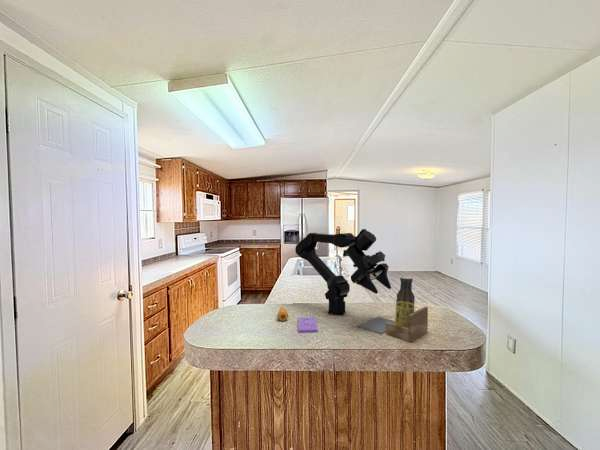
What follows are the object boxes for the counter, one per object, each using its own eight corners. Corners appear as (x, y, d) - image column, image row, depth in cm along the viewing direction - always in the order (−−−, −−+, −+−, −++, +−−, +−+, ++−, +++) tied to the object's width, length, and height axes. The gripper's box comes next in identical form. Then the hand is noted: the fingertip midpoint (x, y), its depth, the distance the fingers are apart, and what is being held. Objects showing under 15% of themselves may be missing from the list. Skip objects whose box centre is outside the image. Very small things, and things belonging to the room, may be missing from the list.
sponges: (315, 321, 121) (315, 316, 121) (318, 334, 108) (317, 328, 108) (297, 321, 121) (297, 317, 121) (298, 334, 108) (298, 329, 108)
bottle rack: (385, 334, 106) (385, 309, 106) (402, 325, 115) (402, 301, 114) (411, 342, 99) (411, 315, 99) (427, 332, 108) (427, 307, 107)
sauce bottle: (394, 334, 106) (394, 278, 105) (395, 328, 112) (395, 274, 111) (414, 337, 103) (414, 279, 103) (414, 330, 109) (415, 276, 108)
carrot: (286, 324, 119) (290, 313, 120) (275, 320, 119) (279, 309, 119) (284, 312, 139) (288, 303, 139) (275, 309, 139) (279, 299, 139)
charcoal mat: (357, 326, 113) (357, 325, 113) (378, 317, 123) (378, 316, 123) (381, 334, 106) (381, 333, 106) (401, 323, 116) (401, 322, 116)
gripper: (357, 247, 110) (384, 282, 102) (384, 243, 123) (410, 274, 115) (340, 266, 116) (364, 300, 108) (367, 260, 129) (391, 290, 121)
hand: (383, 290), depth 113 cm, fingers open, 9 cm apart
